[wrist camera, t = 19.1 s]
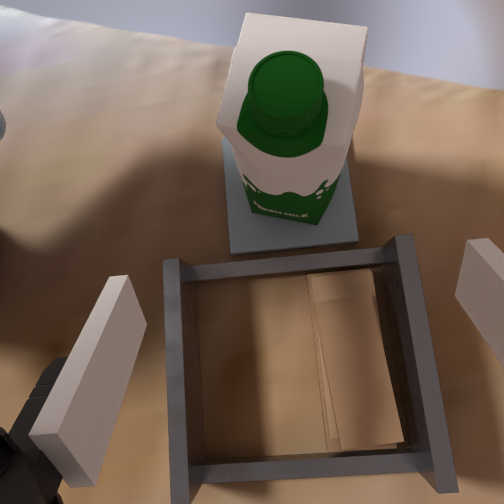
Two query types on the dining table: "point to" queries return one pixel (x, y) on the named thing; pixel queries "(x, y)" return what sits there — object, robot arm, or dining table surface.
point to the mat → (281, 230)
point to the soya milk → (292, 111)
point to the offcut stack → (352, 363)
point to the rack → (318, 464)
